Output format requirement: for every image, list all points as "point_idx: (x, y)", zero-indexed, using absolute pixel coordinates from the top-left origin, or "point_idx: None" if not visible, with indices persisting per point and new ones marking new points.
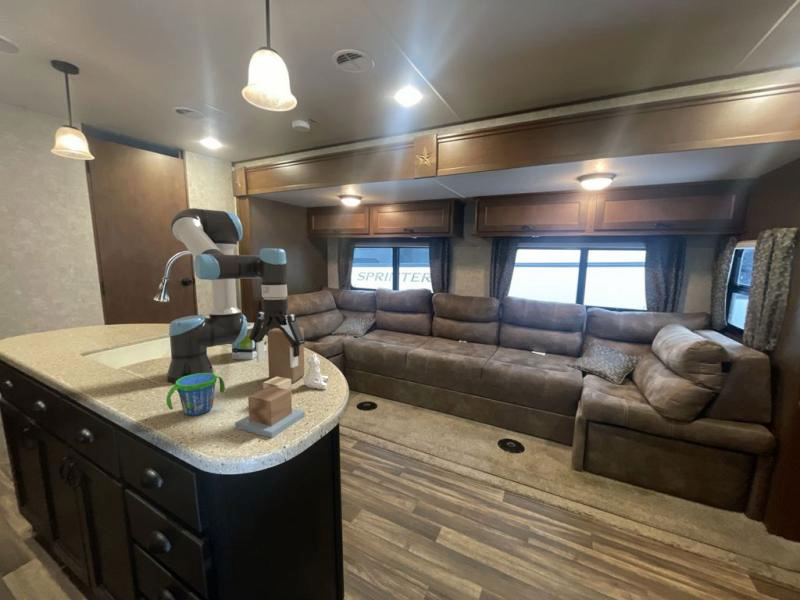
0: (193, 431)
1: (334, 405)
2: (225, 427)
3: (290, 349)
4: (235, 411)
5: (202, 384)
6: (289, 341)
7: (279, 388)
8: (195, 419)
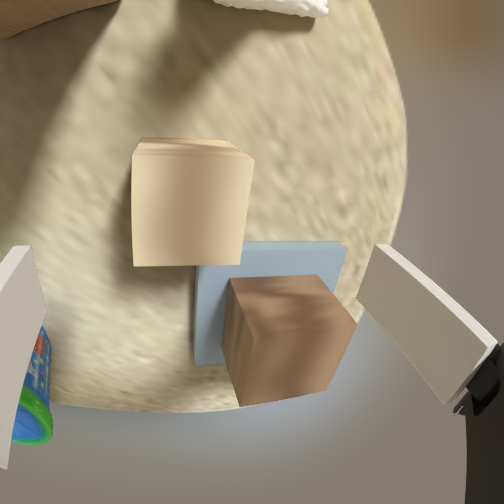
0: (121, 390)
1: (394, 147)
2: (168, 362)
3: (436, 389)
4: (105, 303)
5: (51, 431)
6: (469, 439)
7: (309, 335)
8: (64, 363)
